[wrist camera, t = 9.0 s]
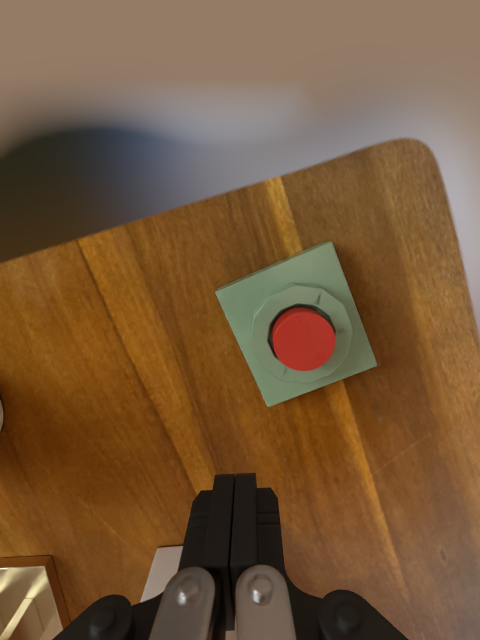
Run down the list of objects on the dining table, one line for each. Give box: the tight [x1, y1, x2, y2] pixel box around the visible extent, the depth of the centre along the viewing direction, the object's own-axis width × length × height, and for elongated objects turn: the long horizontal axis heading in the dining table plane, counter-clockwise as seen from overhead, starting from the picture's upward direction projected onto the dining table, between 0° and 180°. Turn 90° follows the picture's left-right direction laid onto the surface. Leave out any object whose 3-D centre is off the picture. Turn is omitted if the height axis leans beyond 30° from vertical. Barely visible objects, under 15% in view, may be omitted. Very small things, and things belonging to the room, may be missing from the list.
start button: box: [272, 307, 335, 371], centre depth 22 cm, size 4×4×2 cm
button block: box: [215, 242, 377, 407], centre depth 25 cm, size 10×9×4 cm
